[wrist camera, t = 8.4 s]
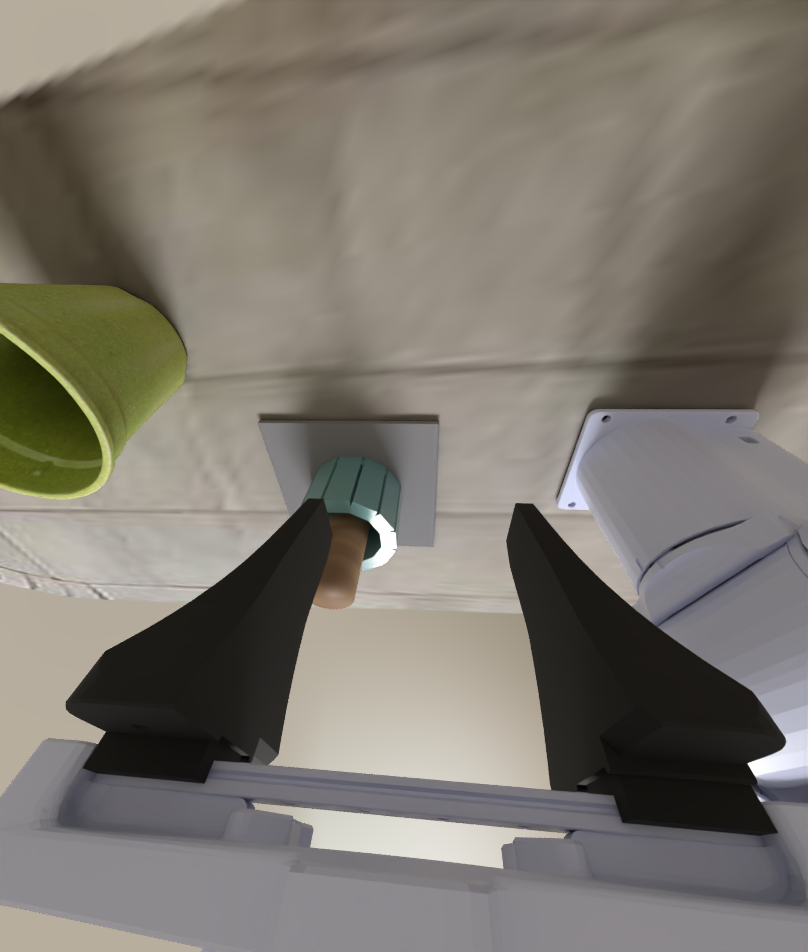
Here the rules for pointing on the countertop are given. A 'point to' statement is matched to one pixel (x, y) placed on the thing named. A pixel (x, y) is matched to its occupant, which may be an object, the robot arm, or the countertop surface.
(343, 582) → the walnut peg
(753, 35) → the countertop surface
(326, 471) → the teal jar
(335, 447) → the grey mat
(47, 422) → the plant pot
